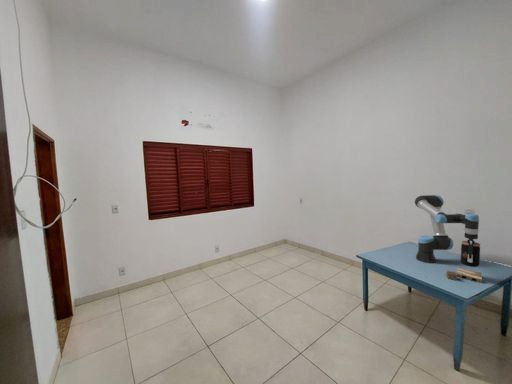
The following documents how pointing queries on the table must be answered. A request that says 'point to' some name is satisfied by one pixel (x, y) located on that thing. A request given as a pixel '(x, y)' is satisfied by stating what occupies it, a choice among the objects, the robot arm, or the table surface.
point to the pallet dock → (469, 274)
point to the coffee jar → (465, 250)
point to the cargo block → (451, 275)
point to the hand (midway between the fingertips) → (469, 259)
